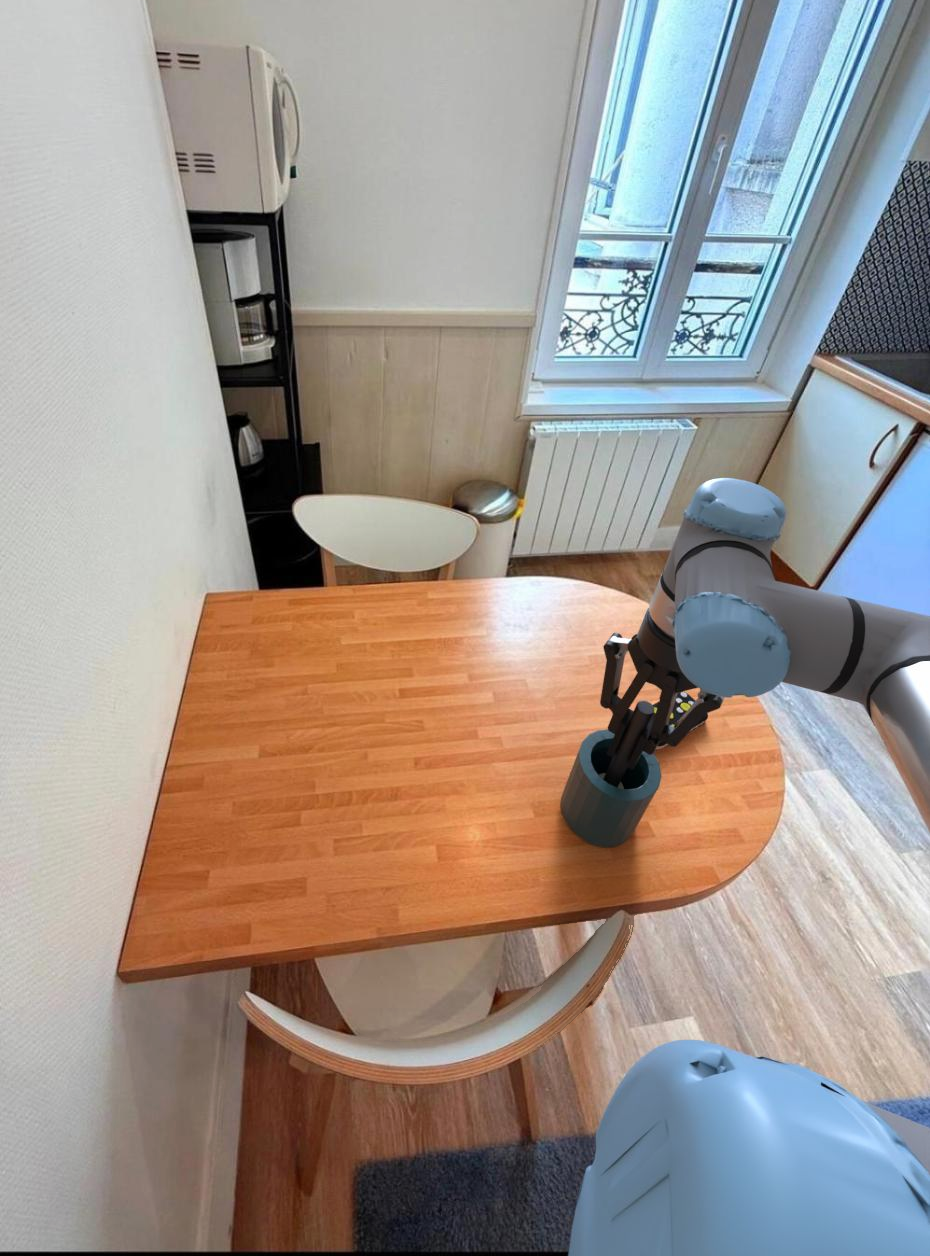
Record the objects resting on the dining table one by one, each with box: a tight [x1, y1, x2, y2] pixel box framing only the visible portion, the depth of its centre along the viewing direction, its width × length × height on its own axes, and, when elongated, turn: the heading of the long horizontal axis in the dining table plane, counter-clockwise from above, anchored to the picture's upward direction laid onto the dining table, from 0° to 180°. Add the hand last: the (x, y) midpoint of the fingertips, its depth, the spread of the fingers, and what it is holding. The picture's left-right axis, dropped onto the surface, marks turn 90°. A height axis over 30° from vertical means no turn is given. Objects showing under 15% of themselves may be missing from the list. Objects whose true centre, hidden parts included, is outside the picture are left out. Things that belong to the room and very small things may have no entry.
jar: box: [560, 728, 662, 849], centre depth 81 cm, size 10×10×12 cm
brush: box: [599, 700, 654, 789], centre depth 77 cm, size 4×4×22 cm
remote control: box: [648, 691, 709, 750], centre depth 97 cm, size 6×13×2 cm, turn 120°
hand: (623, 754), depth 76 cm, fingers closed on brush, 2 cm apart
